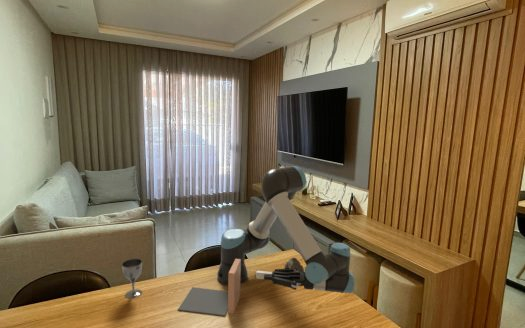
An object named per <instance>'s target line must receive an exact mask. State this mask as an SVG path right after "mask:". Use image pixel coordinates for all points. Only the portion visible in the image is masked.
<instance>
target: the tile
mask: <svg viewBox="0 0 525 328" xmlns="http://www.w3.org/2000/svg"><path fill="white" fill-rule="evenodd" d="M240 276H241V259H235V261H234V263H233V265H232V267H231V269H230V271H229V273H228V285H227V286H228V287H227V291H228V310H227V314H229V315H234V314H235V311H236V309H237V306H238V303H239V300H240V299H241V284H240Z"/></svg>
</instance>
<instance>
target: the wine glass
mask: <svg viewBox="0 0 525 328" xmlns="http://www.w3.org/2000/svg"><path fill="white" fill-rule="evenodd" d="M121 269H122V273H123V276H124V278H125V279H127V280H129V282H130V283H131V288H132V289H131V290H129V291H128V290H127V292H125V294H124V297H125V298H126V299H129V300H132V299H136V298H138V297H140V296H141V295H142V294H143V290H141V289H139V288H135V282H136V280H137V279H138V278H139V277H140V276H141V273H142V270H143V261H142V259H141V258H129V259H126V260H124V261H123V262H122V264H121Z"/></svg>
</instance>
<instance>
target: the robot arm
mask: <svg viewBox="0 0 525 328" xmlns="http://www.w3.org/2000/svg"><path fill="white" fill-rule="evenodd" d="M260 183H261V185H260V186H261V187H260V188H261V194H262V197H263V199H264V200H265V202H264V204H263V205H262V207H261V209H260V211H258V214H257V215H256V217H255V220H252V221H251V222H249V224H248V225H247V228H245V229H241V228H231V229H228V230H226V231H224V232H223V233H222V234H221V239H220V240H221V241H220V264H219V267H218V270H217V277H216V278H217V281H218V282H219V283H222V284H223V285H227V286H228V273H229V271H230V269H231V267H232V265H233V263H234V261H235V259H241V276H240V285H241V284H242V283H244V282H246V281H247V279H248V274H249V273H248V269H247V266H246V263H245V255H247V254H250V253H252V252H255V251H256V250H260V249H263V248H265V247H266V246H267V245H268V244H269V243H270V240H271V237H270V236H271V233H270V230H271V227H272V226H273V224H274V223H275V221H276V219H277V218H278V220H279V221H280V223H281V225H282V226H283V228H284V229H285V231H286V233H287V235H288V236H289V238H290V239H291V241H292V243H293V244H294V246H295V248H296V250H297V251H298V253H299V254H300V256H301V258H302V260H303V261H304V263H305V267H304V272H301V271H297V268H292V269H285V268H275V269H274V270H273V271H266V270H265V271H264V270H256V273H255V274H256V276H255V278H256V279H257V280H266V281H267V280H268V281H272V284H274V285H277V286H281V287H286V288H289V289H292V290H294V291H296V290H297V287H303V288H304V290H311V291H312V290H315V291H321V292H322V291H323V292H332V293H341V294H353V292H354V290H355V277H354V274H353V273H350V263H351V248H350V246H349V245H347V244H346V243H342V242H334V243H332V244H331V246H330V252H329V253H327V254H324V252H323V251H322V250H321V248H320V247H319V245H318V243H317V242H316V240H315V238H314V237H313V235H312V234H311V232H310V230H309V229H308V227H307V226H306V224H305V222H304V220H303V219H302V218H301V216H300V214H299V213H298V211H297V210H296V208H295V206H294V205H293V203H292V201H291V200H293V199H294V197H295V196H296V195H297V192H301V191H302V190H304V189H305V187H306V185H307V177H306V174H305V172H304V171H303V169H302V168H300V167H299V166H297V165H289V166H285V167H284V166H282V167H278V168H272V169H270V170H268V171H266V173H264V175H263V177H262V179H261V182H260Z"/></svg>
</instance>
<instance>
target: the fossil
mask: <svg viewBox="0 0 525 328" xmlns="http://www.w3.org/2000/svg"><path fill="white" fill-rule="evenodd" d="M292 268H297V271H301V272H304V271H305V267H304V266H303V265H302V264H301V262H300V260H298V259H297V258H296V257H291V258H289V259H288V260H287V262H286V263H285V265H284V269H292Z"/></svg>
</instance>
